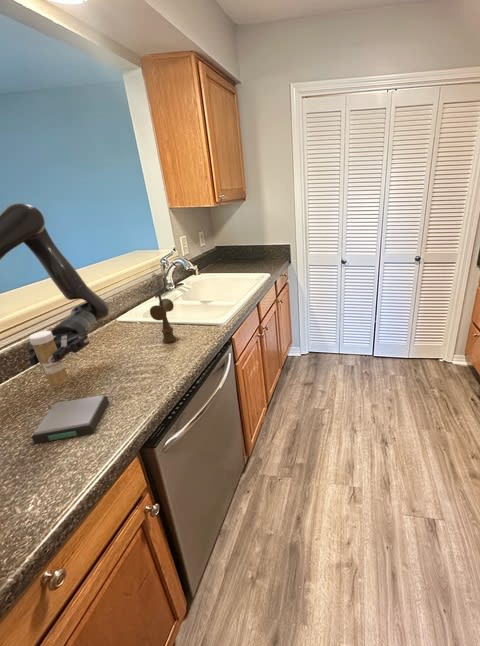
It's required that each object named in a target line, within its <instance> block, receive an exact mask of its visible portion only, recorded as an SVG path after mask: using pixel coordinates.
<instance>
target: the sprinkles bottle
mask: <svg viewBox="0 0 480 646" xmlns="http://www.w3.org/2000/svg"><path fill="white" fill-rule="evenodd" d="M51 331H52V330H42V331H38V332H33V333H32V334H30V335H29V336H28V340H29V343H31V344H32V346H33V347H34V350H35V352H36V356H37V358H38V361H39V363H38V364H39V366H40V368H41V370H42V372H43V374H44V375H45V378H46V379H47V384H48V385H49V386H56V385H60V384H64V383H65V382H67V380H69V378H70V376H69V374H68V372H67V370H66V367H65V363H64V362H63V359H61V360H60V361H59V362H55V360H54V357H53V354H54V353H55V352H56V351H57V350H58V349H57V347H56V344H55V342H54V337H53V334H52V332H51Z"/></svg>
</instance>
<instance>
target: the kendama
mask: <svg viewBox="0 0 480 646" xmlns="http://www.w3.org/2000/svg"><path fill="white" fill-rule="evenodd" d="M157 295H158V301H159V302H158V305H157V304H156V305H153V306H151V307H150V309H149V315H150V317H151V318H152V319H153V320H155V321H162V329H161V333H162V335H163V338H162V343H173V342H174V341H176V340H177V337H176V335H175V334H174V332H173V331H174V328H173V327H172V326H171V324H170V322H169V320H168V317H167V312H168V313H169V312H172V311H173V310H174V302H173V301H172V300H171V299H170V298H162V295H161V293H160V292H158V294H157Z"/></svg>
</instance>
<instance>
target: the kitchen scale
mask: <svg viewBox="0 0 480 646" xmlns="http://www.w3.org/2000/svg"><path fill="white" fill-rule="evenodd" d="M109 403H110V402H109V399H108V396H107V395H104V394H101V395H96V396H89V397H83V398H78V399H77V398H76V399H71V400H66V401H65V400H64V401H59V402H55V403H54V404H53V406H52V407H51V408H50V409H49V411H48V413H47V414H46V415H45V417H44V418H43V419H42V421H40V423H39V425H38V426H37V427H36V428H35V430H34V431H33V434H32V435H31V440H32V441H33V444H34V445H38V444H42V443H43V444H44V443H48V442H53V441H58V440H64V439H69V438H75V437H80V436H85V435H90V434H94V433H95V431H96V429H97V427H98V425H99V423H100V421H101V419H102V417H103V415H104V414H105V412H106V409H107V407H108V405H109Z"/></svg>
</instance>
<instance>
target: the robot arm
mask: <svg viewBox="0 0 480 646" xmlns="http://www.w3.org/2000/svg"><path fill="white" fill-rule="evenodd" d="M22 244H24V245H25V246H26V247H27V248H28V249H29V250H30V251H31V252H32V254H33V255H34V257H36V259H37V260H38V261H39V263H40V264H41V266H42V268H44V270H45V272H46V273H47V275H48V276H49V277H50V279H51V281H52V282H53V283H54V284H55V286H56V287H57V288H58V290H59V291H60V292H61V294H62V295H63V297H65V298H66V299H67V300H69V301H74V300H83V301H85V302H82V303H80V304H78V305H76V306H74V307H73V308H72V309H71V310H70V315H68V316H67V317H65V318H64V319H63V320H61V321H60V322H59V323H58V324H57V325H56V326H55V327H54V328H53V329H52V330H50V331H51V332H52V334H53V337H54V342H55V344H56V347H57V349H58V350H57V351H56V352H55V353H54V354H53V357H54V360H55V362H59V361H60V360H61V359H62V360H63V359H64V358H65V357H66V356H68V355H70V353H72V354H76V353H78V352H80V351H81V350H82V349H84V348H85V347H87V346H88V345H89V344H90V343H91V342H90V338H89V336H88V335H89V334H90V332H91V331H92V330H93V328H94V327H95V325H96V323H97V322H98V321H101V320H103V319H105V318H107V317H108V316H109V315H110V307H109V305H108V303H107V302H106V301H105V300H104V299H103V298H101V296H99V295H98V294H97V293H95V292H94V291H93V290H92V289H91V288H90V287H89V286H88V285H87V284H86V282H85V281H84V279H82V277H81V275H80V274H79V273H78V271H77V270H76V269H75V267H74V266H73V265H72V264H71V263H70V261H69V260H68V259H67V258H66V257H65V256H64V254H63V253H62V252H61V250H59V248H58V247H57V246H56V244H55V243H54V241H53V239H52V238H51V236H50V234H49V232H48V230H47V228H46V220H45V217H44V215H43V213H42V212H41V211H40V210H39V209H38V208H37V207H36V206H34V205H32V204H29V203H23V202H18V203H17V202H16V203H13V204H10V205H8V206H7V207H6V208H5V209H3V211H2V212H1V213H0V261H2V259H3V258H4V257H5V256H6V255H7V254H9V252H11V251H12V250H13V249H15V248H16V247H18V246H20V245H22ZM29 343H30V342H29ZM27 352H28V354H29V357H28V361H29V363H30V364H31V365H32V366H37V365H39V364H40V363H39V361H38V358H37V356H36V352H35V350H34V347H33V346H32V344H31V343H30V344H29V347H28V348H27Z"/></svg>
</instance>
